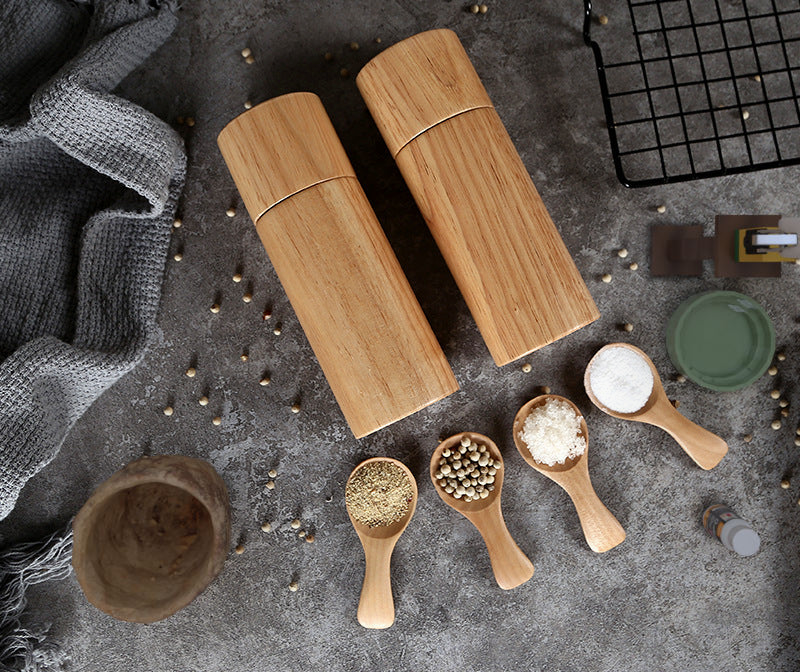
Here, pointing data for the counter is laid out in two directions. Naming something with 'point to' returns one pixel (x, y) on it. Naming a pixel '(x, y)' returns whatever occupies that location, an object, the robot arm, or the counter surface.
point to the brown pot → (152, 537)
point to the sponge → (769, 257)
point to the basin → (720, 340)
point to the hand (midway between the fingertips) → (784, 242)
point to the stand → (708, 248)
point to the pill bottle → (731, 530)
